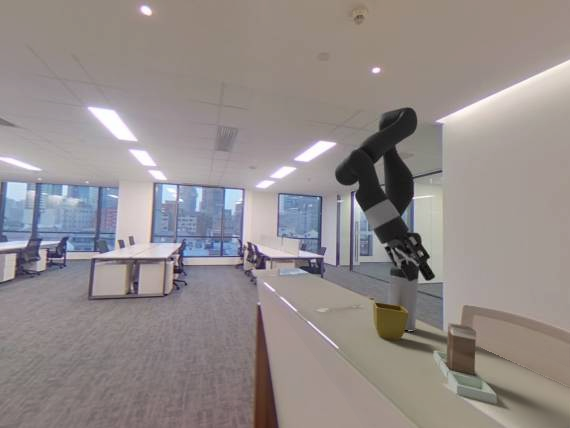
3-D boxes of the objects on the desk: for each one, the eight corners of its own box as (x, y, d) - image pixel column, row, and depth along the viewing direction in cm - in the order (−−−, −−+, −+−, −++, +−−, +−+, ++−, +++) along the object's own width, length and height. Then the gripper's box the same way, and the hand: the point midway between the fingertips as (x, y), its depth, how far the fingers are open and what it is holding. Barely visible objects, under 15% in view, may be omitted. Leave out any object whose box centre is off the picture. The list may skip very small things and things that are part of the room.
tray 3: (447, 382, 54) (448, 371, 54) (482, 390, 52) (483, 379, 52) (456, 397, 48) (457, 385, 48) (496, 407, 46) (496, 394, 46)
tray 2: (439, 369, 60) (440, 359, 60) (471, 376, 58) (471, 366, 58) (446, 381, 54) (447, 370, 54) (481, 389, 52) (482, 378, 52)
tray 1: (433, 358, 66) (433, 350, 66) (461, 365, 64) (461, 356, 64) (439, 368, 60) (439, 359, 60) (470, 375, 58) (470, 365, 59)
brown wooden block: (446, 369, 59) (448, 322, 60) (467, 374, 57) (469, 326, 58) (451, 377, 55) (453, 327, 56) (474, 383, 54) (475, 331, 55)
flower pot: (407, 345, 74) (409, 312, 75) (374, 339, 76) (376, 307, 77) (400, 336, 82) (402, 306, 83) (370, 330, 84) (372, 301, 85)
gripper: (410, 207, 62) (452, 271, 58) (387, 221, 76) (419, 273, 72) (383, 221, 61) (424, 287, 57) (364, 233, 75) (396, 286, 71)
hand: (421, 279), depth 65 cm, fingers open, 8 cm apart
